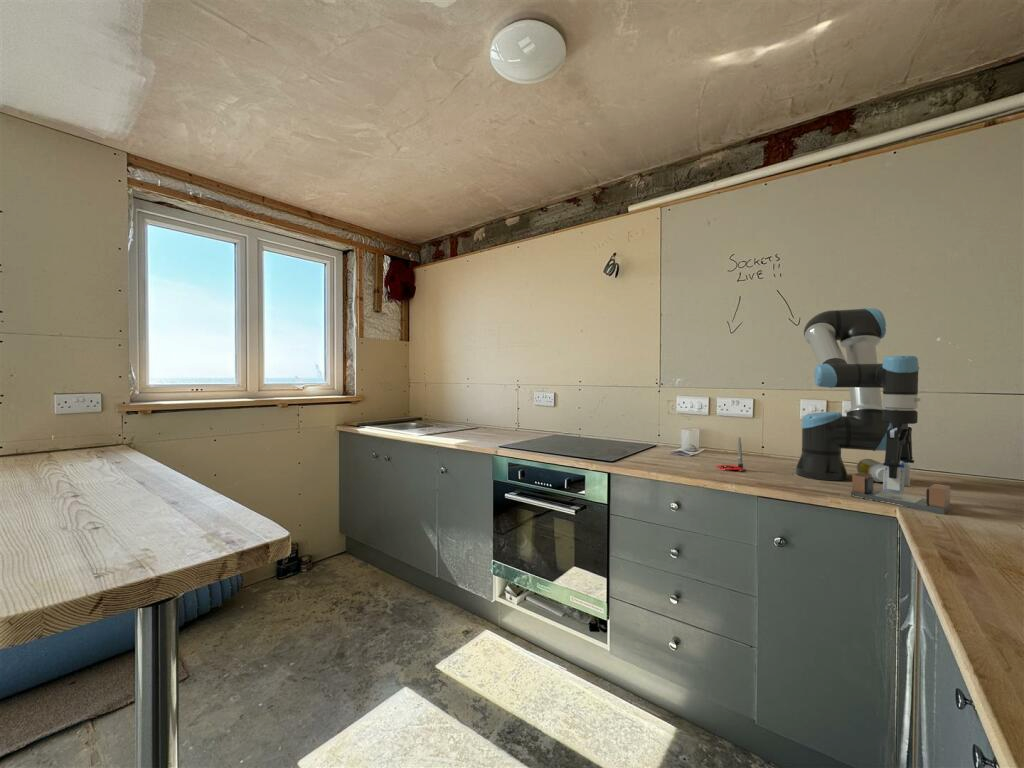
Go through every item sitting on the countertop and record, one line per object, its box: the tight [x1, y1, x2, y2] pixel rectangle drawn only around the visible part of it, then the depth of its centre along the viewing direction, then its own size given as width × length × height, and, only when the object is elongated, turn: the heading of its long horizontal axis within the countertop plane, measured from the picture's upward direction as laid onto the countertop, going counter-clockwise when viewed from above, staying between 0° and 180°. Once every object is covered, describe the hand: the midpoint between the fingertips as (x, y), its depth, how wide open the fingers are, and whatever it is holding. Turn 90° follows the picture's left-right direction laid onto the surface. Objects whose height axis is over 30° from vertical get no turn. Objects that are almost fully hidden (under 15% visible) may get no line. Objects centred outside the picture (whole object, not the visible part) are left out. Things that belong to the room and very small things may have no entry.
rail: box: [850, 472, 952, 515], centre depth 122 cm, size 20×8×6 cm, turn 34°
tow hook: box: [716, 436, 744, 472], centre depth 166 cm, size 8×13×9 cm
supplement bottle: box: [856, 458, 884, 483], centre depth 147 cm, size 7×7×13 cm
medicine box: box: [882, 459, 905, 495], centre depth 123 cm, size 8×4×9 cm, turn 139°
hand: (898, 486), depth 122 cm, fingers closed on medicine box, 8 cm apart
